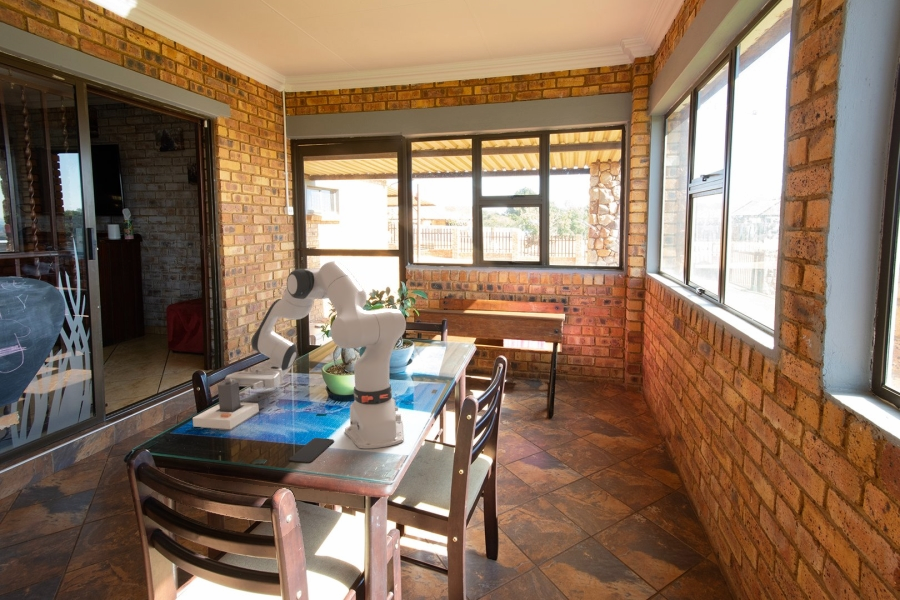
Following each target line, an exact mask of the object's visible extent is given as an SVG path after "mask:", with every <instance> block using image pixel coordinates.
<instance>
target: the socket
mask: <svg viewBox="0 0 900 600" xmlns="http://www.w3.org/2000/svg"><path fill="white" fill-rule="evenodd" d="M240 406H241V408H240V409H238V410H236V411H235V412H233V413H232V412H220V406H219V403H218V404H216V405H214V406H212V407H210V408H208V409H207V410H204V411H202V412H200V413H199V414H197V415H195V416H194V417H192V425H193V428H194V427H201V428H200V429H203V428H211V429H210V430H216V429H219V430H218V431H230V432H231V431H232V430H234V429H235V428H237V427H239V426H240V425H242V424H243V423H245V422H247V421H249V419H252V418H253V417H254V416H256V415H258V414H260V410H259V403H257V402H255V403H254V402H242V401H240Z"/></svg>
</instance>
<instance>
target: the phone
mask: <svg viewBox="0 0 900 600" xmlns="http://www.w3.org/2000/svg"><path fill="white" fill-rule="evenodd" d="M334 443H335V439H333V438H323V437H322V438H321V437H315V438H312V439H311V440H309V441H308V442H307V443H306V444H305V445H303V446H302V447H301V448H300V449H298V450H297V452H295V453H294V454H293V455H291V456H290V457H289V459H288V461H289V462H292V463H293V462H294V463H300V464H302V463H303V464H311V463H313V462H314V461H315V460H317V459H318V458H319V457H320V455H322V454H323V453H324V452H326V451H327V449H328V448H330V447H331V446H332V445H333V444H334Z"/></svg>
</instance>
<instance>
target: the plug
mask: <svg viewBox="0 0 900 600" xmlns="http://www.w3.org/2000/svg"><path fill="white" fill-rule="evenodd" d="M217 394H218V404H219V406H220V412H232V413H233V412H235V411H236V410H238V409H240V408H241V406H240V402H241V396H240V386H239V383H238V382H231V379H230V378H226V377H225V378H224V381H223V382H221V383H219V384H218V385H217Z"/></svg>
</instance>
